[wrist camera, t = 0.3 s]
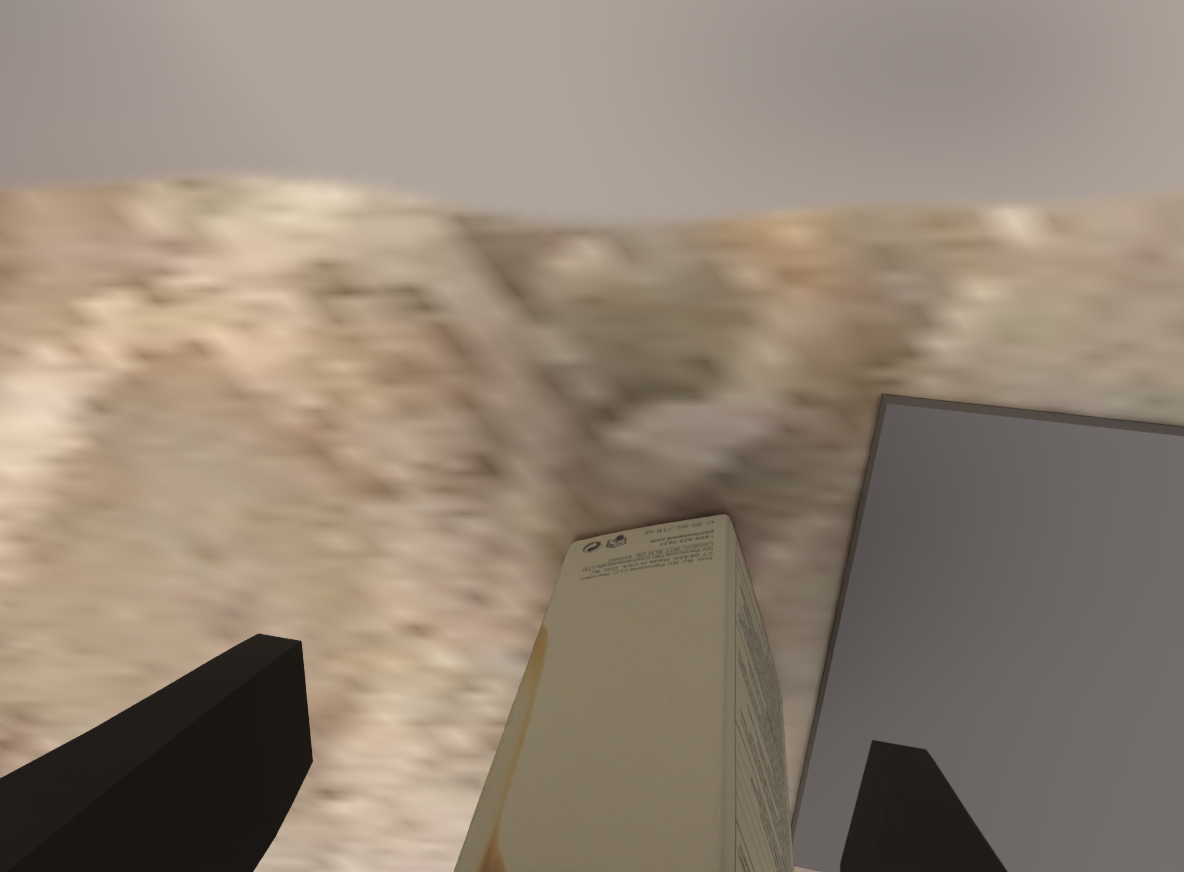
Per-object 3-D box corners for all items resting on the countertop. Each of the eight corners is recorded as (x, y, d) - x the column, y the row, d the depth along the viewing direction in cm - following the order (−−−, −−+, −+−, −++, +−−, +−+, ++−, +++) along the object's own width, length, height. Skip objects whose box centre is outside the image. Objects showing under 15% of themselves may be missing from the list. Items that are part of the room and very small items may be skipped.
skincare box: (565, 536, 21) (354, 1046, 10) (733, 505, 20) (713, 1044, 8) (634, 732, 23) (527, 1337, 12) (789, 714, 22) (834, 1368, 10)
